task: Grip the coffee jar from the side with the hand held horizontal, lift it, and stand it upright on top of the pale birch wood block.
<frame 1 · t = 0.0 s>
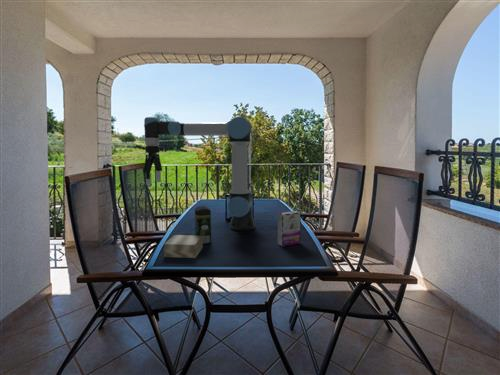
hand: (153, 183, 174), 28 cm above the table, tool pointing down, fingers open, 13 cm apart
coffee jar: (203, 242, 159), on the table
birch block: (184, 252, 144), on the table
candy bar box: (288, 244, 156), on the table
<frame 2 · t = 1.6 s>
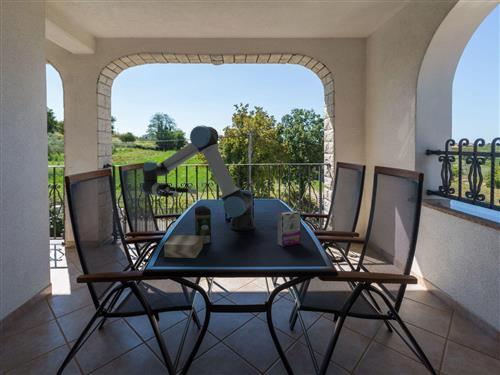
hand: (187, 193, 165), 24 cm above the table, tool horizontal, fingers open, 13 cm apart
nothing on the table moved.
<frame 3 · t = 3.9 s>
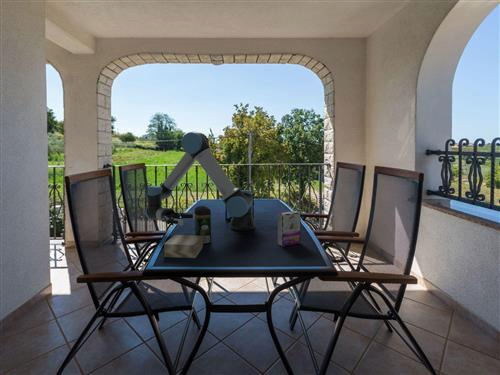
hand: (192, 220, 161), 10 cm above the table, tool horizontal, fingers open, 13 cm apart
nothing on the table moved.
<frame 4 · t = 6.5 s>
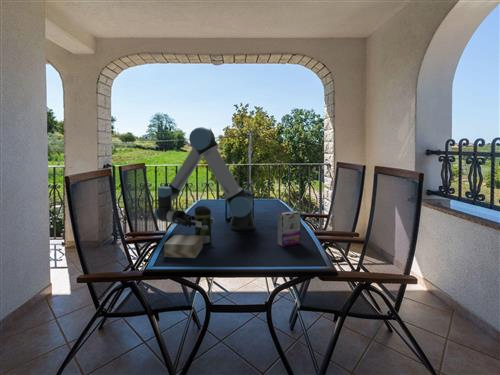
hand: (207, 222, 156), 11 cm above the table, tool horizontal, fingers closed on coffee jar, 8 cm apart
coffee jar: (203, 242, 159), on the table, touching gripper
everything else where it was.
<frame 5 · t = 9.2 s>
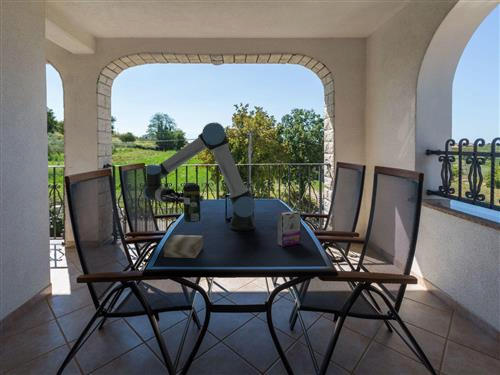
hand: (196, 200, 148), 23 cm above the table, tool horizontal, fingers closed on coffee jar, 8 cm apart
coffee jar: (192, 220, 151), point 13 cm above the table, touching gripper
everything else where it was.
when the fingers open (17 cm above the table, at t = 12.4 s): coffee jar stays where it is, resting on birch block.
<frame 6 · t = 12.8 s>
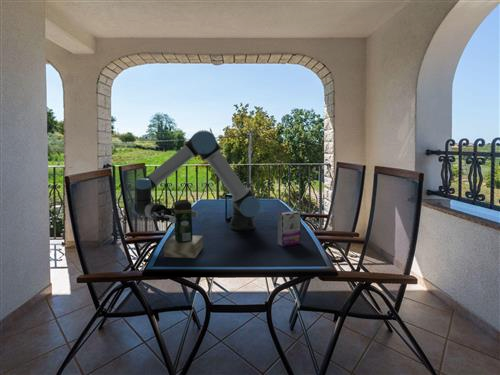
hand: (186, 217, 140), 17 cm above the table, tool horizontal, fingers open, 13 cm apart
coffee jar: (183, 240, 143), point 6 cm above the table, touching birch block
everything else where it was.
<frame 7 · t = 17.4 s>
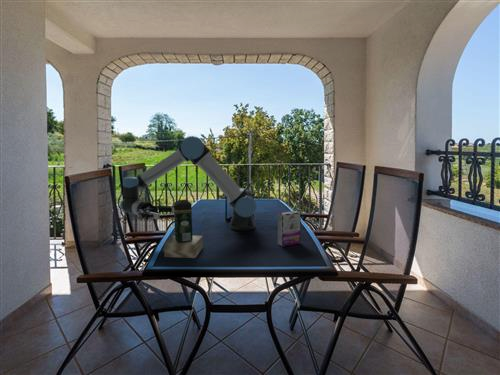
hand: (170, 213, 146), 17 cm above the table, tool horizontal, fingers open, 13 cm apart
nothing on the table moved.
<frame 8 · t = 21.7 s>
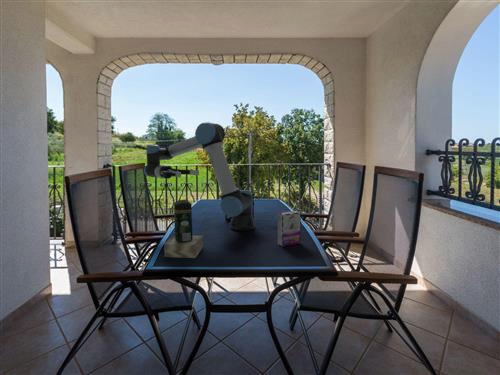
hand: (189, 173, 168), 34 cm above the table, tool horizontal, fingers open, 13 cm apart
nothing on the table moved.
at the end: coffee jar inside the target area on the birch block (0.3 cm from its centre), point 5.8 cm above the birch block's base; coffee jar tilted 0°; the gripper is holding nothing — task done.
